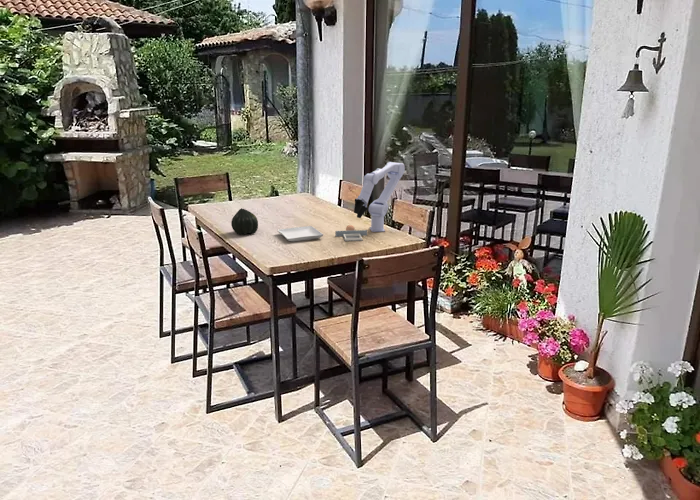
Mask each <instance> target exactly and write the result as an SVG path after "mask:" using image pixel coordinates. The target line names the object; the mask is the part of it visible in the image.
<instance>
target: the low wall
mask: <svg viewBox="0 0 700 500" xmlns="http://www.w3.org/2000/svg"><path fill="white" fill-rule="evenodd" d="M344 234H360V235H361V237H362V236H363V237H364V236H365V237H366V236H368V230H367V229H366V230H365V229H364V230H363V229H362V230H356V229H355V230H353V231H346V230H335V237H343V236H344Z"/></svg>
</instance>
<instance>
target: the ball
mask: <svg viewBox="0 0 700 500" xmlns="http://www.w3.org/2000/svg"><path fill="white" fill-rule="evenodd" d="M353 230H356V229H355V227H354V225H353V224H349V225H347V226H346V227H345V231H353Z"/></svg>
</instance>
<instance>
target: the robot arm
mask: <svg viewBox="0 0 700 500" xmlns="http://www.w3.org/2000/svg"><path fill="white" fill-rule="evenodd" d="M405 168H406V166H405V164H404V163H403V162H393V161H387V163H386V164H385V166H383V167H382V168H378V167H377V168H376V169H375V170H374V171H372V172H370V173H366V174H365V175H364V176H363V183H362V188H361V190H360V193H359V195H358V196H357V197H356V198H355V199H354V210H353V213H354V214H357V215H356V218H358V219H362V217H363V215H364V214H365V213H366V211H367V212H368V213H369V214H370V216H371V217H370V219H371V221H370V226H369V229H370V231H371V232H373V233H374V232H377V233H379V232H386V229H385V222H384V221H385V216H386V214H387V213H388V209H389V203H388V201H389V200H390V197H391V196H392V195H393V192H394V191H395V190H396V187H397V186H398V183H399V182H400V180H401V178H403V175H404V173H405V172H406V171H405V170H406V169H405ZM386 174H387V177H388V178H389V180H388V182H387V183H386V185H385V186H384V189H383V190H382V192H381V193H380V195H379V198H377V199H374V200H373V201H372V202H371V203H370V204H369V206H368V203H369V200H370V197H371V195H372V191H373V190H374V187H375V185H377V184H378V183H379V181H380V180H381V179H383V178H384V177H385V175H386Z"/></svg>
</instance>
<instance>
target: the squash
mask: <svg viewBox="0 0 700 500" xmlns="http://www.w3.org/2000/svg"><path fill="white" fill-rule="evenodd" d="M230 223H231V224H230V225H231V228H232V230H233V232H235V234H238V235H240V236H242V235H245V234H250V235H252V234H255V233H256V232H258V229H259V220H258V218H257V215H255V214H254V213H252V212H251V211H250V210H247V209H246V208H239V209H238V211H237V212H236V213H235V214H234V215H233V216H232V219H231V222H230Z"/></svg>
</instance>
